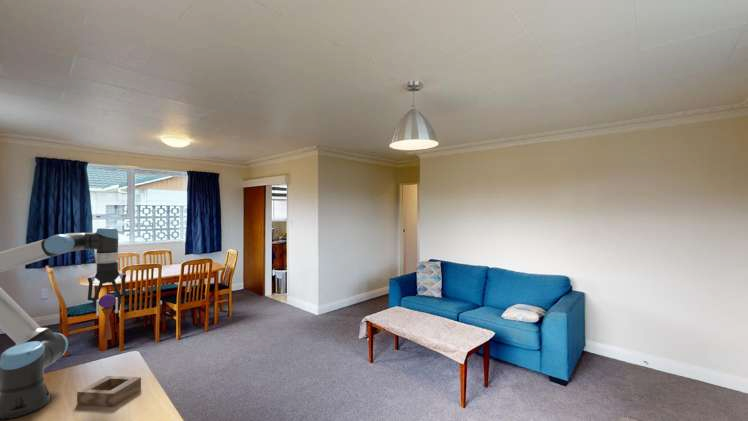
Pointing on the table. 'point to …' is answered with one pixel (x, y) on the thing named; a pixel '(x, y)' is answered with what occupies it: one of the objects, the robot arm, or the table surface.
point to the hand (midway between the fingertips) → (107, 313)
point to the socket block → (103, 397)
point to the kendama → (107, 313)
